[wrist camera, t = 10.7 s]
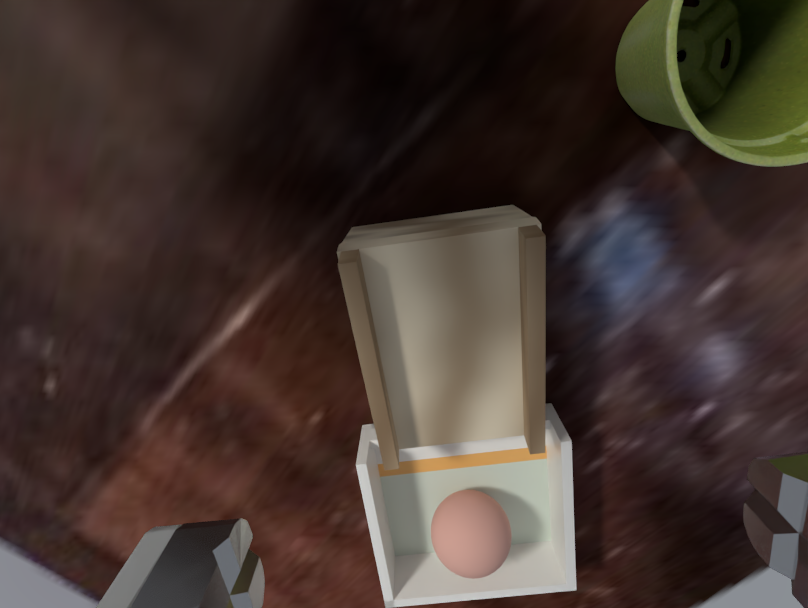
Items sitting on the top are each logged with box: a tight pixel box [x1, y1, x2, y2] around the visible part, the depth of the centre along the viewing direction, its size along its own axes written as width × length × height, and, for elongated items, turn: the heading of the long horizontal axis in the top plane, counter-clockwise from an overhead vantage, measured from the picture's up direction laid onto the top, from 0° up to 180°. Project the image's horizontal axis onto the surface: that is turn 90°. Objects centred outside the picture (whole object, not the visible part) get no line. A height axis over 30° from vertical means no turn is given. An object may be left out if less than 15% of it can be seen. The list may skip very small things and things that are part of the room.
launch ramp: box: [337, 205, 546, 470], centre depth 25 cm, size 9×12×7 cm
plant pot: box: [615, 0, 808, 167], centre depth 20 cm, size 9×9×9 cm
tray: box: [356, 403, 576, 608], centre depth 30 cm, size 12×11×4 cm
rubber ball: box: [431, 490, 512, 579], centre depth 30 cm, size 5×5×5 cm
